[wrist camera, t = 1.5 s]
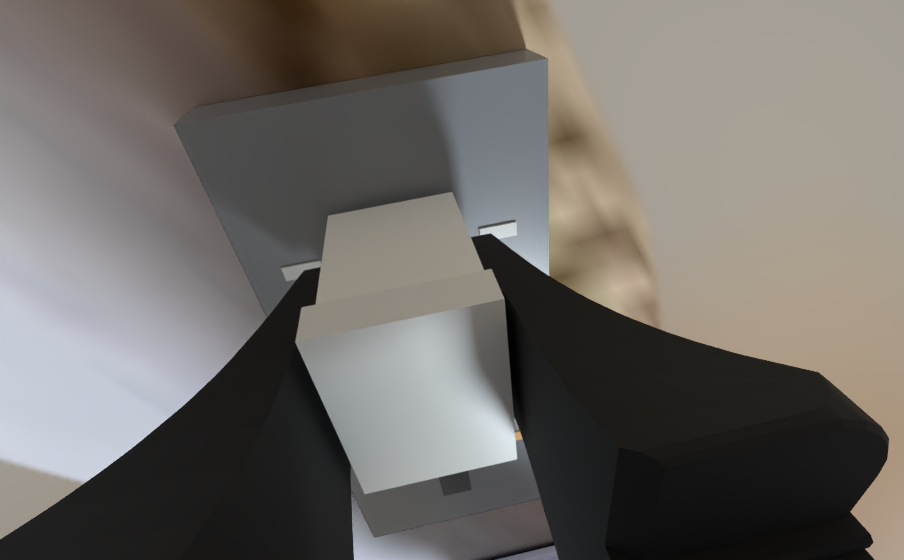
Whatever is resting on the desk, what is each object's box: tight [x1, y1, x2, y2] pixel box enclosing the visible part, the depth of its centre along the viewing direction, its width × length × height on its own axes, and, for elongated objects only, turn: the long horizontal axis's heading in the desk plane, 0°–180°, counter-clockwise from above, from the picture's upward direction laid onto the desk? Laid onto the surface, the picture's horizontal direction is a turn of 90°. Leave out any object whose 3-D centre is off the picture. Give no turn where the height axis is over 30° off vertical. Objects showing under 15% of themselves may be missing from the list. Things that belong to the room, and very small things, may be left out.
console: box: [174, 49, 549, 537], centre depth 15 cm, size 18×8×2 cm, turn 8°
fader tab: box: [295, 192, 517, 494], centre depth 10 cm, size 4×3×5 cm
